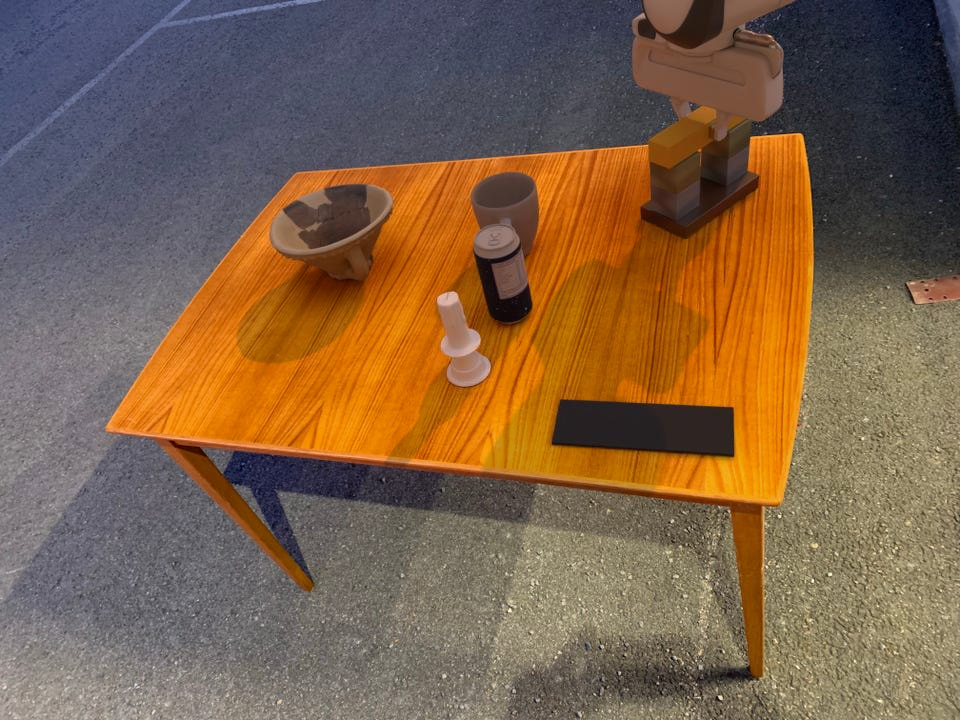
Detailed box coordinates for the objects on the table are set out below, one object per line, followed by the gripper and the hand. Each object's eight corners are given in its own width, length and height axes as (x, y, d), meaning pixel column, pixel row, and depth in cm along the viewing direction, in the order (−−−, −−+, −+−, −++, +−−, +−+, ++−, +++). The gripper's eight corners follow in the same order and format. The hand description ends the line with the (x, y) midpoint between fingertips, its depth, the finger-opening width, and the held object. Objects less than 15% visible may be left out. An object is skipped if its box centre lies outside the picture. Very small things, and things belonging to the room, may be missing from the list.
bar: (753, 114, 92) (755, 92, 89) (669, 169, 86) (669, 147, 84) (731, 107, 94) (732, 86, 92) (648, 161, 89) (647, 139, 87)
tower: (758, 187, 97) (765, 120, 90) (685, 239, 92) (686, 173, 85) (711, 170, 102) (714, 105, 95) (640, 218, 97) (637, 154, 90)
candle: (466, 349, 86) (443, 273, 77) (499, 364, 83) (480, 287, 74) (438, 377, 83) (411, 302, 75) (471, 393, 80) (448, 317, 72)
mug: (484, 234, 102) (471, 177, 95) (544, 225, 101) (534, 166, 94) (482, 286, 94) (468, 227, 87) (548, 277, 92) (538, 217, 85)
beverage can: (534, 296, 90) (520, 219, 82) (532, 326, 86) (517, 248, 78) (491, 299, 91) (473, 224, 83) (487, 329, 87) (468, 253, 79)
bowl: (428, 268, 99) (410, 211, 92) (311, 323, 95) (284, 268, 89) (384, 216, 111) (366, 162, 104) (279, 262, 107) (254, 210, 101)
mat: (733, 409, 71) (733, 406, 71) (734, 456, 67) (734, 454, 67) (560, 401, 77) (559, 398, 76) (551, 444, 73) (551, 442, 73)
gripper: (803, 26, 74) (788, 144, 84) (657, -1, 88) (659, 103, 97) (765, 50, 72) (754, 167, 82) (621, 19, 86) (627, 123, 95)
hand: (701, 132), depth 90 cm, fingers closed on bar, 3 cm apart
